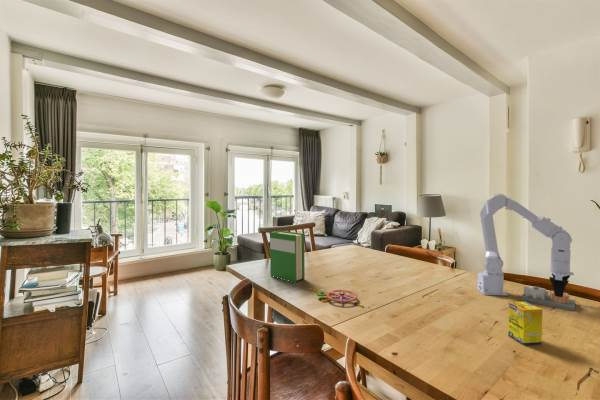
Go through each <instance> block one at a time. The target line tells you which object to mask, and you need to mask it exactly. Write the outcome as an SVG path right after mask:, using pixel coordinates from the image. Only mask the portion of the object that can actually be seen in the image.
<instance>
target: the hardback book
mask: <svg viewBox="0 0 600 400" xmlns="http://www.w3.org/2000/svg"><path fill="white" fill-rule="evenodd" d="M269 249H270V251H269V255H270V257H269V258H270V260H269V263H270V265H269V266H270V268H269V269H270V270H269V271H270V272H269V273H270V277H271V276H274V277H278V278H282V279H285V280H289V281H292V282H291V283H293V282H296V283H297V281H300V280H302V279H305V276H306V275H305V273H306V272H305V233H301V232H294V231H293V232H292V231H285V230H275V231H270V232H269ZM274 277H273V278H274ZM278 278H277V279H278ZM282 279H281V280H282ZM285 280H284V281H285ZM289 281H288V282H289Z"/></svg>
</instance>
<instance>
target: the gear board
mask: <svg viewBox="0 0 600 400" xmlns="http://www.w3.org/2000/svg"><path fill="white" fill-rule="evenodd" d="M521 301H522V302H528V303H533V304H538V305H542V306H547V307H551V308H552V307H553V308H557V309H561V310H564V311H569V312H570V311H571V312H575V310H576V301H577V300H576V299H571V298H569V303H558V302H555V301H552V300H550V294H549V290H547V289H546V288H543V287H539V286H535V285H534V286H531V285H527V286H524V287H523V294H522V296H521Z"/></svg>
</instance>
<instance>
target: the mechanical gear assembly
mask: <svg viewBox="0 0 600 400" xmlns="http://www.w3.org/2000/svg"><path fill="white" fill-rule="evenodd" d="M309 289H310V291H312V290H313V292H315V291H317V292H316V296H317V297H322V298H323V297H326V298H323V299H321V303H327V302H330V301H332V302H336V303H347V304H348V303H349V304H351V305H353V306H355V307H356V306H357V307H361V308H364V307H365V306H364V305H362V304H359V301H357V299H358V294H357V293H355V292H354V291H351V290H346V289H334V290H330V291H328V292H326V291H324V289H320V290H316V289H313V288H310V287H308V290H309ZM346 293H348V294H346ZM343 294H344V295H343ZM350 296H353V297H354V298H352V297H350ZM329 300H330V301H329ZM354 301H355V302H354Z"/></svg>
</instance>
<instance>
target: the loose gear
mask: <svg viewBox="0 0 600 400" xmlns="http://www.w3.org/2000/svg"><path fill="white" fill-rule="evenodd" d="M549 295H550V300H552V301H555V302H558V303H569V299H570V295H569V293H567V292H564V293H563V296H562V297H558V296H555V294H554V290H550V291H549Z"/></svg>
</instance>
